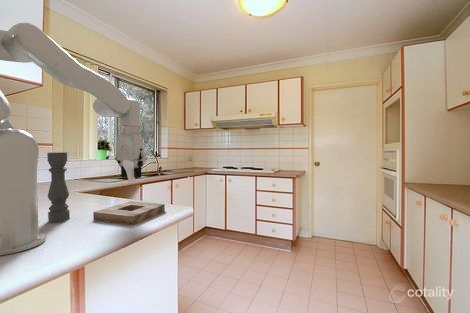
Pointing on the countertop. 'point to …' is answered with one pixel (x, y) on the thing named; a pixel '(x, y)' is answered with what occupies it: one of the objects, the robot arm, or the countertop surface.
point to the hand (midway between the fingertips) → (131, 176)
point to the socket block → (129, 212)
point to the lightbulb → (129, 169)
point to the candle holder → (58, 188)
